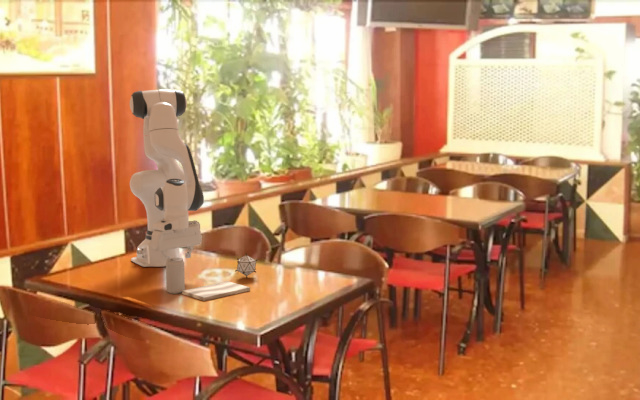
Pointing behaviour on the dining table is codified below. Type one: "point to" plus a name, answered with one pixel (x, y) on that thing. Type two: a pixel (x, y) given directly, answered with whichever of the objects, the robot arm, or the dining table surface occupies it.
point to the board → (215, 290)
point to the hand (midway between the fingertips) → (177, 259)
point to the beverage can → (175, 275)
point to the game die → (246, 265)
